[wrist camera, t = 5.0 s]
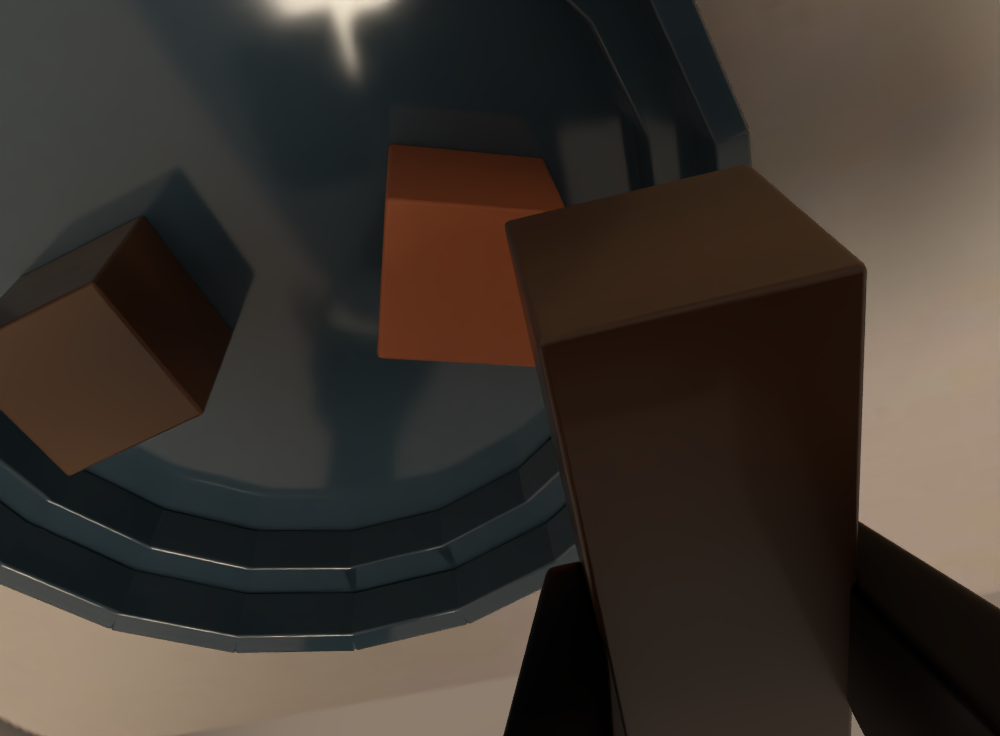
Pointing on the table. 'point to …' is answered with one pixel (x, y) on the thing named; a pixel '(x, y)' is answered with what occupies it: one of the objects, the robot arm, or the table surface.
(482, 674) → the table surface
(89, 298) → the block
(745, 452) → the stick
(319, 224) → the bowl
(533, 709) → the robot arm
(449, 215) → the block
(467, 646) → the table surface
